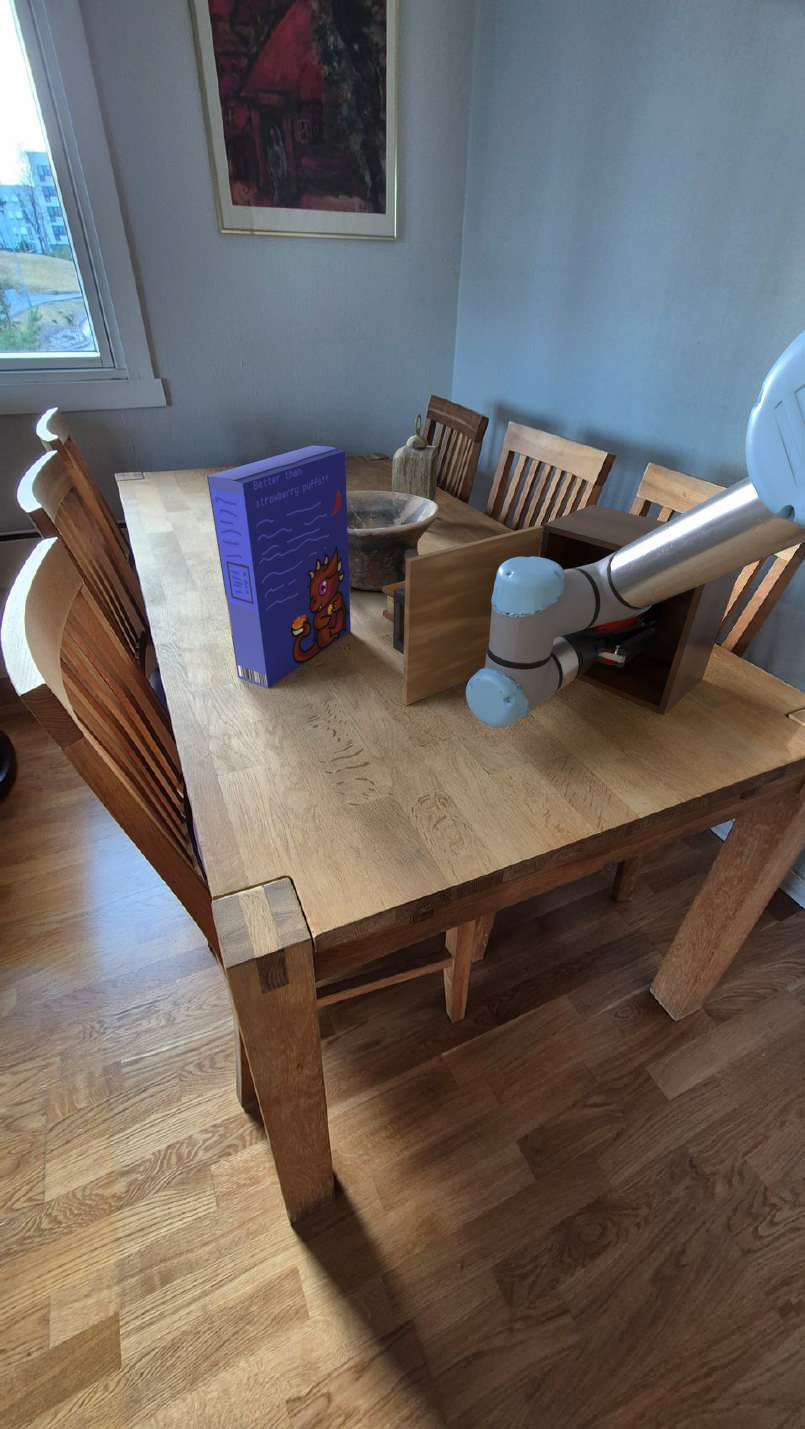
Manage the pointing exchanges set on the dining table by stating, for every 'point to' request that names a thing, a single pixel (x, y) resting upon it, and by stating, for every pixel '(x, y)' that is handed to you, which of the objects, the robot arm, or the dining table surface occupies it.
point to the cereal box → (283, 558)
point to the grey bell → (416, 467)
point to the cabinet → (681, 622)
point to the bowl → (384, 535)
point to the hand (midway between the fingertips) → (634, 606)
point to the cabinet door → (451, 610)
